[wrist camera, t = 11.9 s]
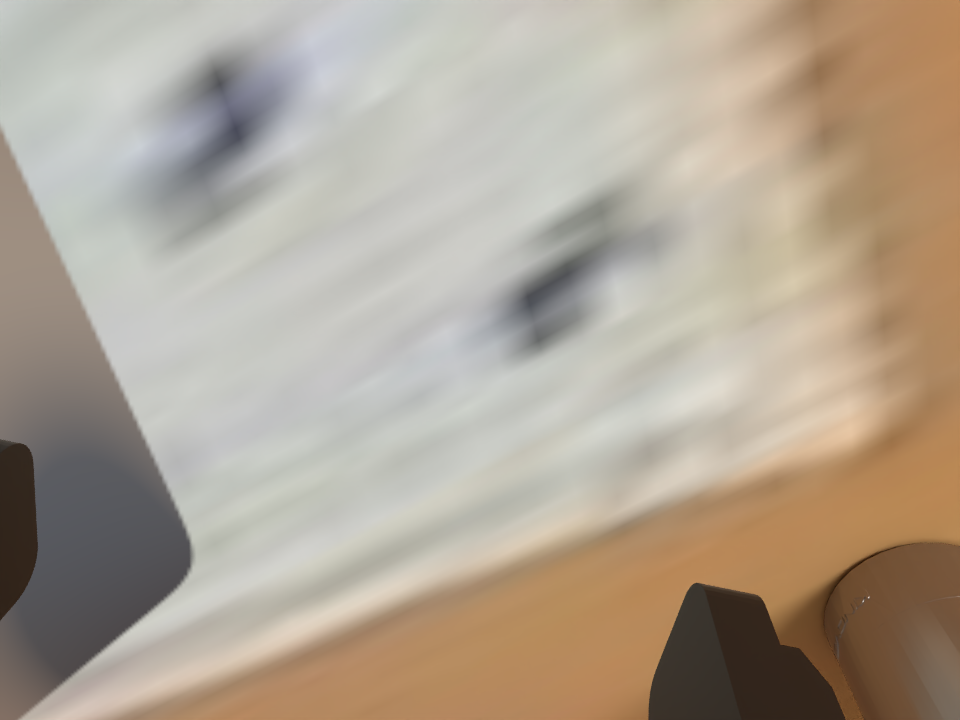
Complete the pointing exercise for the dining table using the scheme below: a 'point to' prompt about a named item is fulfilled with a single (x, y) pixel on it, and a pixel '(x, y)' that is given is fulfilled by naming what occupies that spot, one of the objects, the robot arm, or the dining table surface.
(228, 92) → the dining table surface
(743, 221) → the dining table surface
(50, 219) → the dining table surface
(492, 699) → the dining table surface
